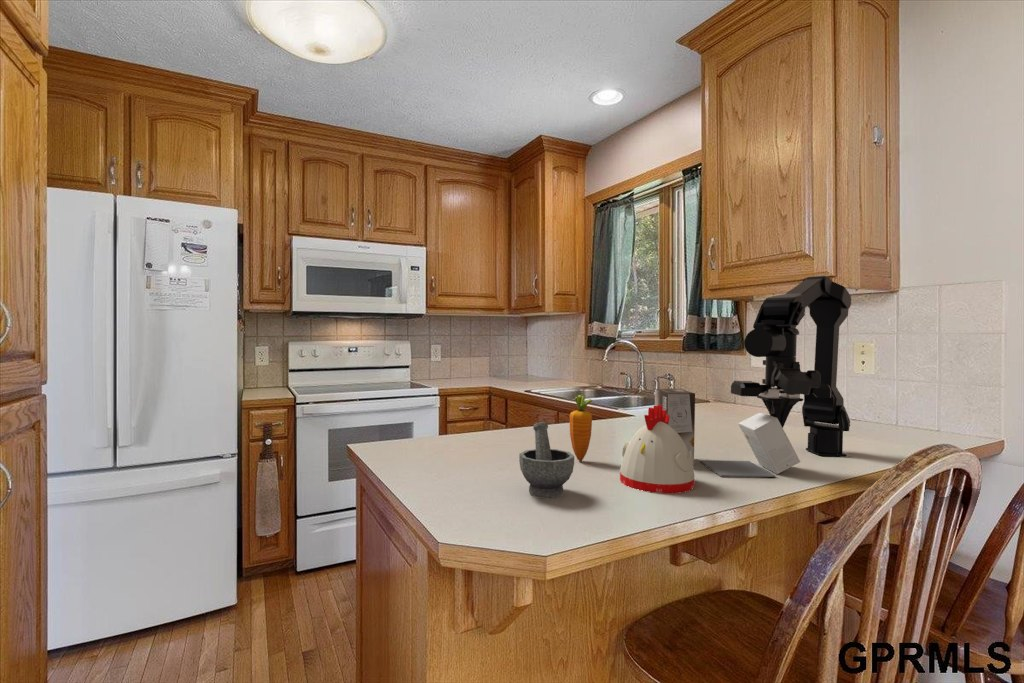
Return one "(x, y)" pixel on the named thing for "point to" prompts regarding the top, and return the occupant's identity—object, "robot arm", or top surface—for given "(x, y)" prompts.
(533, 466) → the mortar and pestle
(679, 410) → the coffee box
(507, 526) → the top surface
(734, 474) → the mat
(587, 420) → the carrot
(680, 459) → the kitchen timer
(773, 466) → the small box
